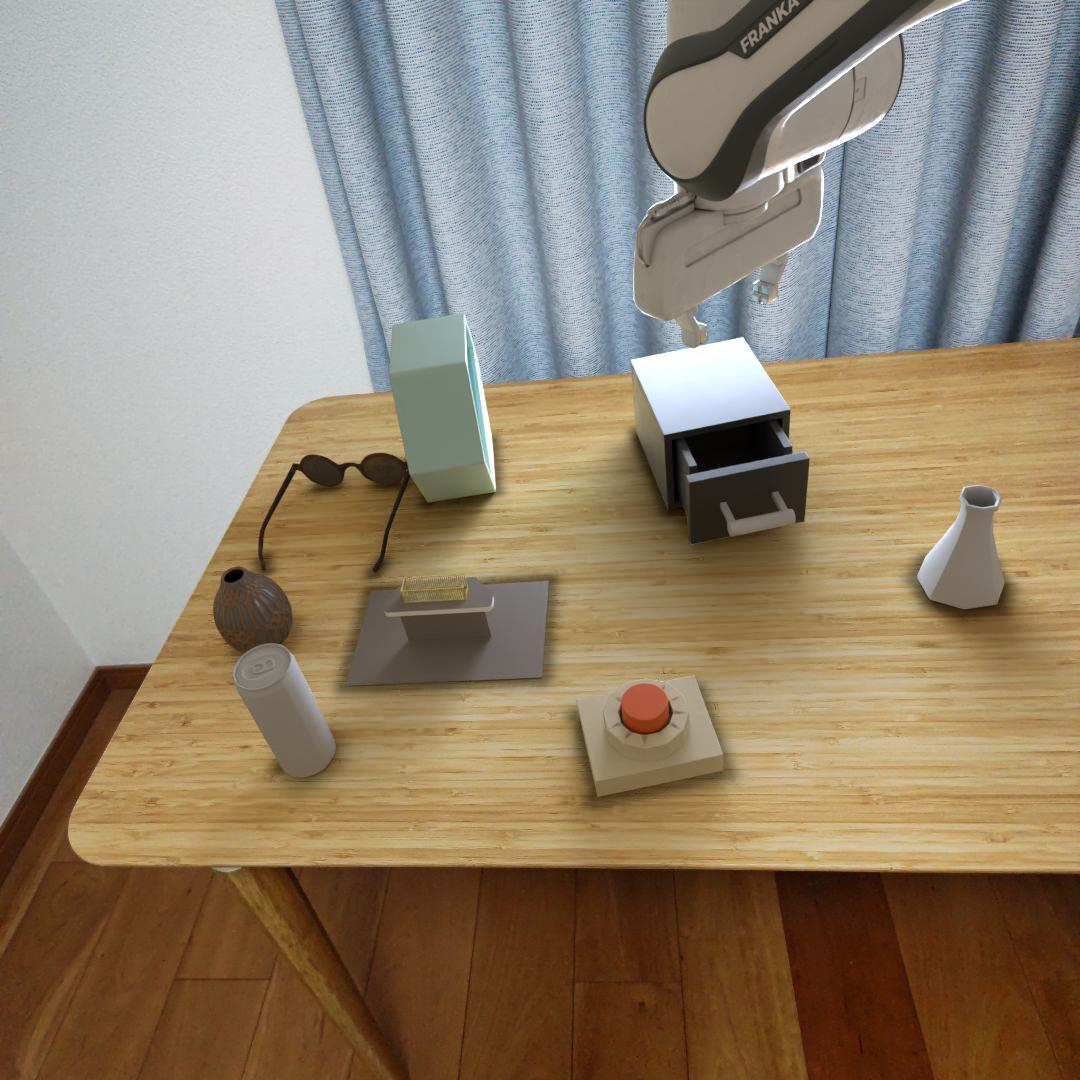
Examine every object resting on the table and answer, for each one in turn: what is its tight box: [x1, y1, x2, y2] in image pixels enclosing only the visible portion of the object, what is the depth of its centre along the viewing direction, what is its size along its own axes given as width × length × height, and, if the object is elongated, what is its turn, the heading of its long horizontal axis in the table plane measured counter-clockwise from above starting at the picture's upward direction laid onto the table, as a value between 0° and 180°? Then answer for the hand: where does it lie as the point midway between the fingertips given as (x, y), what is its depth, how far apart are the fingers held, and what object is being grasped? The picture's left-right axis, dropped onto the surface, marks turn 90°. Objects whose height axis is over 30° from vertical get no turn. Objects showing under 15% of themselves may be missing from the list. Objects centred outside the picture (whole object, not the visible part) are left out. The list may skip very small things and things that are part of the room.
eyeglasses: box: [257, 452, 411, 574], centre depth 97 cm, size 15×15×5 cm
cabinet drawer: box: [672, 419, 811, 545], centre depth 88 cm, size 18×11×8 cm, turn 9°
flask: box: [916, 484, 1005, 610], centre depth 77 cm, size 7×7×10 cm
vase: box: [212, 565, 293, 654], centre depth 84 cm, size 7×7×9 cm
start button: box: [621, 683, 669, 734], centre depth 69 cm, size 4×4×2 cm
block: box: [575, 674, 724, 798], centre depth 71 cm, size 10×8×4 cm
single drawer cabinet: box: [629, 336, 792, 511], centre depth 95 cm, size 15×13×10 cm
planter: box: [388, 312, 497, 503], centre depth 97 cm, size 17×8×21 cm
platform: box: [345, 573, 550, 687], centre depth 82 cm, size 12×18×7 cm, turn 87°
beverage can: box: [232, 643, 337, 778], centre depth 72 cm, size 5×5×12 cm
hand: (730, 321), depth 82 cm, fingers open, 8 cm apart
